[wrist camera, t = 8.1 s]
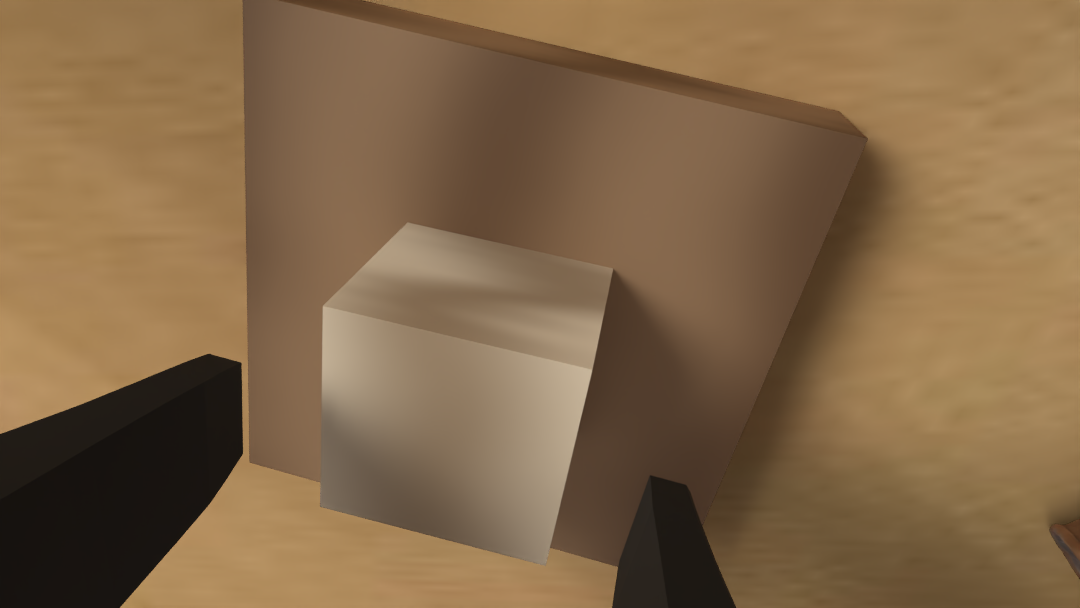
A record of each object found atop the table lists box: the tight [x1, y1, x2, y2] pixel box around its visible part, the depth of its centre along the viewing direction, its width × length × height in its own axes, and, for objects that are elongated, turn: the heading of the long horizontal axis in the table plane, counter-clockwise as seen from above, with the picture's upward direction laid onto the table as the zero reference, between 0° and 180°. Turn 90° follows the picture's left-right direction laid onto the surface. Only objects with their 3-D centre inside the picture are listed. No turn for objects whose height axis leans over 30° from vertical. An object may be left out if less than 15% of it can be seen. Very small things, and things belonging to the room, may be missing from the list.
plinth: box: [243, 0, 868, 567], centre depth 17 cm, size 12×12×2 cm
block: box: [320, 223, 613, 566], centre depth 14 cm, size 4×4×4 cm
